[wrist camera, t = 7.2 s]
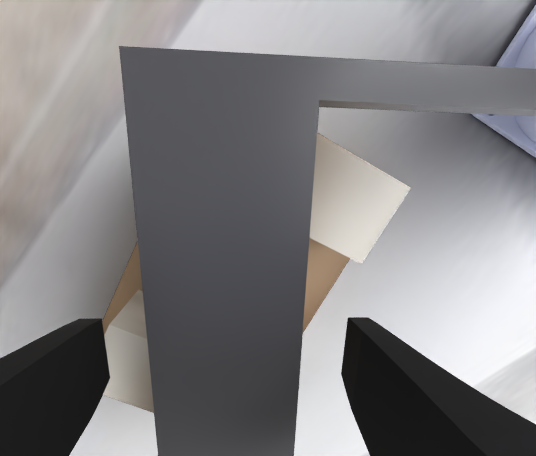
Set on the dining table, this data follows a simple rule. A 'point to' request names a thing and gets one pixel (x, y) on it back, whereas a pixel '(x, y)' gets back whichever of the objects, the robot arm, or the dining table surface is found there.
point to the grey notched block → (250, 220)
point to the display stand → (318, 269)
